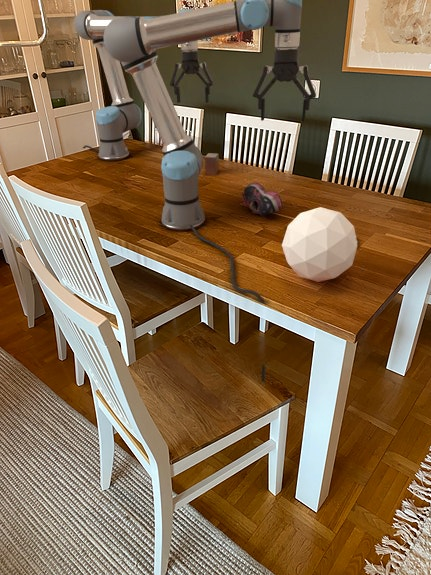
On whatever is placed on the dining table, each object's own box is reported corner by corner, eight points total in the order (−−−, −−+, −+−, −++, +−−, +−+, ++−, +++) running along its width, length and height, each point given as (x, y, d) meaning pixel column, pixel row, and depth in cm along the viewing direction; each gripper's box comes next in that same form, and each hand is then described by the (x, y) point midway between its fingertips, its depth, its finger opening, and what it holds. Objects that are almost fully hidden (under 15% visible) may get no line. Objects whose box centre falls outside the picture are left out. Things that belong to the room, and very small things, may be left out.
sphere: (325, 304, 123) (342, 278, 104) (265, 266, 127) (271, 234, 108) (360, 253, 127) (382, 220, 109) (301, 218, 132) (312, 180, 113)
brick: (208, 170, 204) (208, 153, 200) (218, 170, 203) (218, 153, 199) (205, 174, 200) (204, 156, 195) (215, 174, 199) (215, 157, 194)
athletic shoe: (254, 181, 170) (227, 189, 167) (283, 176, 151) (253, 185, 147) (260, 210, 173) (234, 218, 170) (290, 209, 154) (261, 219, 150)
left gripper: (160, 52, 193) (164, 103, 205) (215, 50, 188) (217, 103, 200) (165, 50, 200) (169, 100, 211) (219, 49, 195) (220, 100, 206)
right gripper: (244, 49, 136) (244, 121, 147) (327, 48, 131) (320, 123, 142) (248, 47, 142) (248, 116, 154) (328, 46, 137) (321, 118, 148)
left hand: (192, 102), depth 205 cm, fingers open, 13 cm apart
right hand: (282, 120), depth 148 cm, fingers open, 13 cm apart
